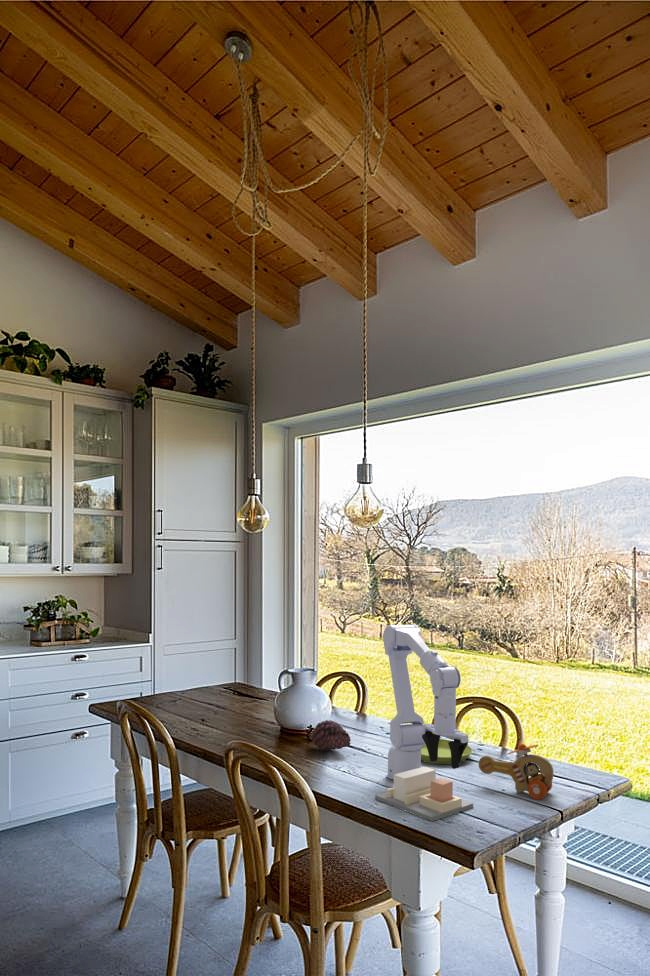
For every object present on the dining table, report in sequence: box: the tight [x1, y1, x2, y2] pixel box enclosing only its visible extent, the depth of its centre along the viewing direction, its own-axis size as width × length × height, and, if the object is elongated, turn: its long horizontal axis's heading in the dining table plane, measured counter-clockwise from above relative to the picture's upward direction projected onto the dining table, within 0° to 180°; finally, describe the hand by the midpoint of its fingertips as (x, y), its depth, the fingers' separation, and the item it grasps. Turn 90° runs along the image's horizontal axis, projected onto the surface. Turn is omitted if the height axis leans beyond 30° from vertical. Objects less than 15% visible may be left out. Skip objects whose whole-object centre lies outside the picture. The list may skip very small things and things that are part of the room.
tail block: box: [430, 777, 454, 803], centre depth 193 cm, size 4×4×6 cm
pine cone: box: [309, 719, 352, 752], centre depth 244 cm, size 18×10×10 cm, turn 41°
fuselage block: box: [393, 766, 437, 802], centre depth 201 cm, size 4×12×6 cm, turn 130°
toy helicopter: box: [478, 743, 554, 800], centre depth 209 cm, size 8×21×14 cm, turn 60°
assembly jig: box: [375, 786, 474, 822], centre depth 197 cm, size 20×16×3 cm
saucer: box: [421, 738, 473, 765], centre depth 240 cm, size 21×21×3 cm
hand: (444, 764), depth 200 cm, fingers open, 7 cm apart
